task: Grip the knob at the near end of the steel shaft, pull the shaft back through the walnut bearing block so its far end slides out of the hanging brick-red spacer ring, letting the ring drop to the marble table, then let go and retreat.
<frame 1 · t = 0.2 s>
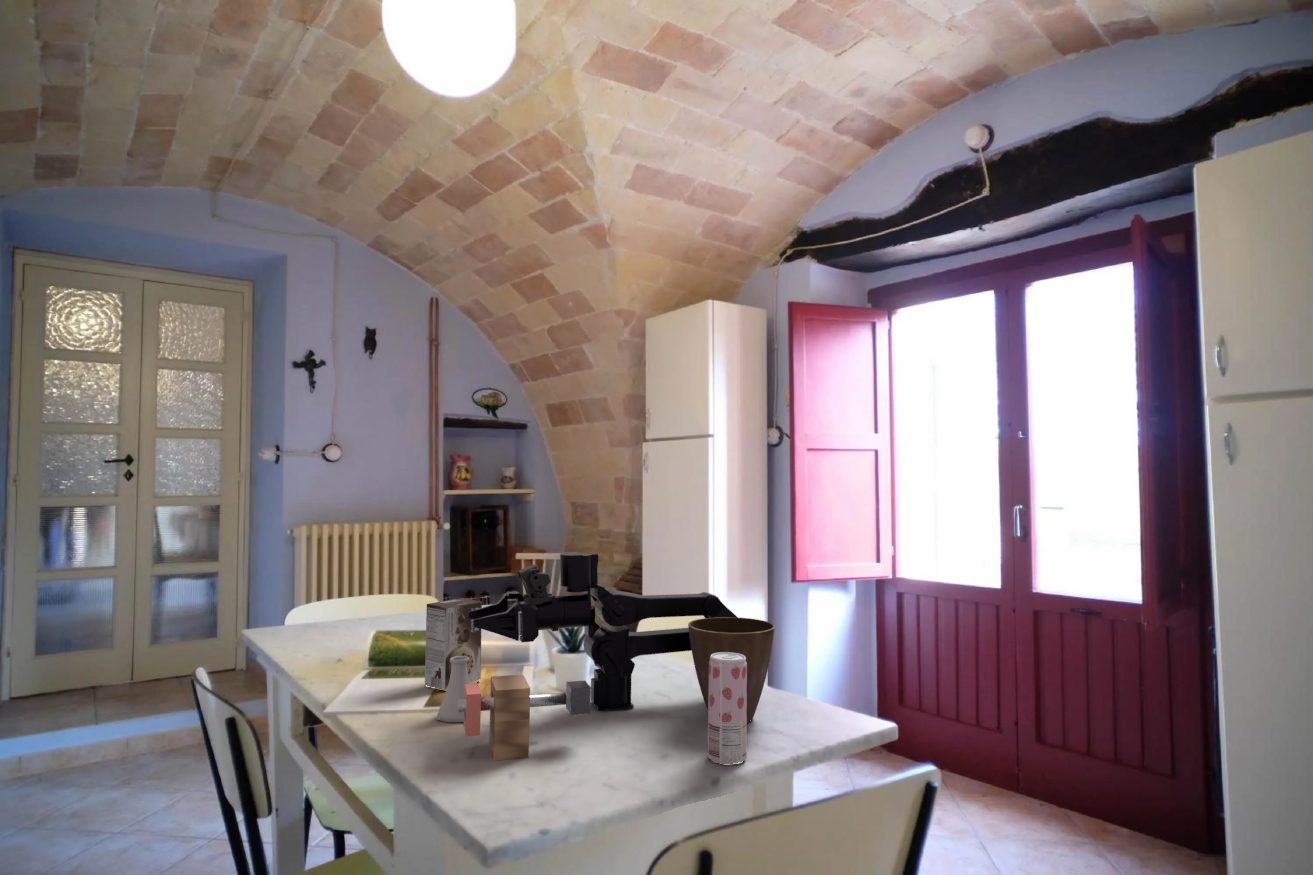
hand: (470, 618, 133), 17 cm above the table, tool horizontal, fingers open, 9 cm apart
flask: (457, 718, 132), on the table
plant pot: (730, 718, 134), on the table
spacer: (471, 729, 116), point 3 cm above the table, touching shaft
beverage can: (726, 760, 115), on the table
coffee box: (452, 685, 152), on the table
bearing block: (508, 749, 117), on the table
shaft: (524, 701, 118), point 7 cm above the table, slide at 0.0 cm, touching spacer
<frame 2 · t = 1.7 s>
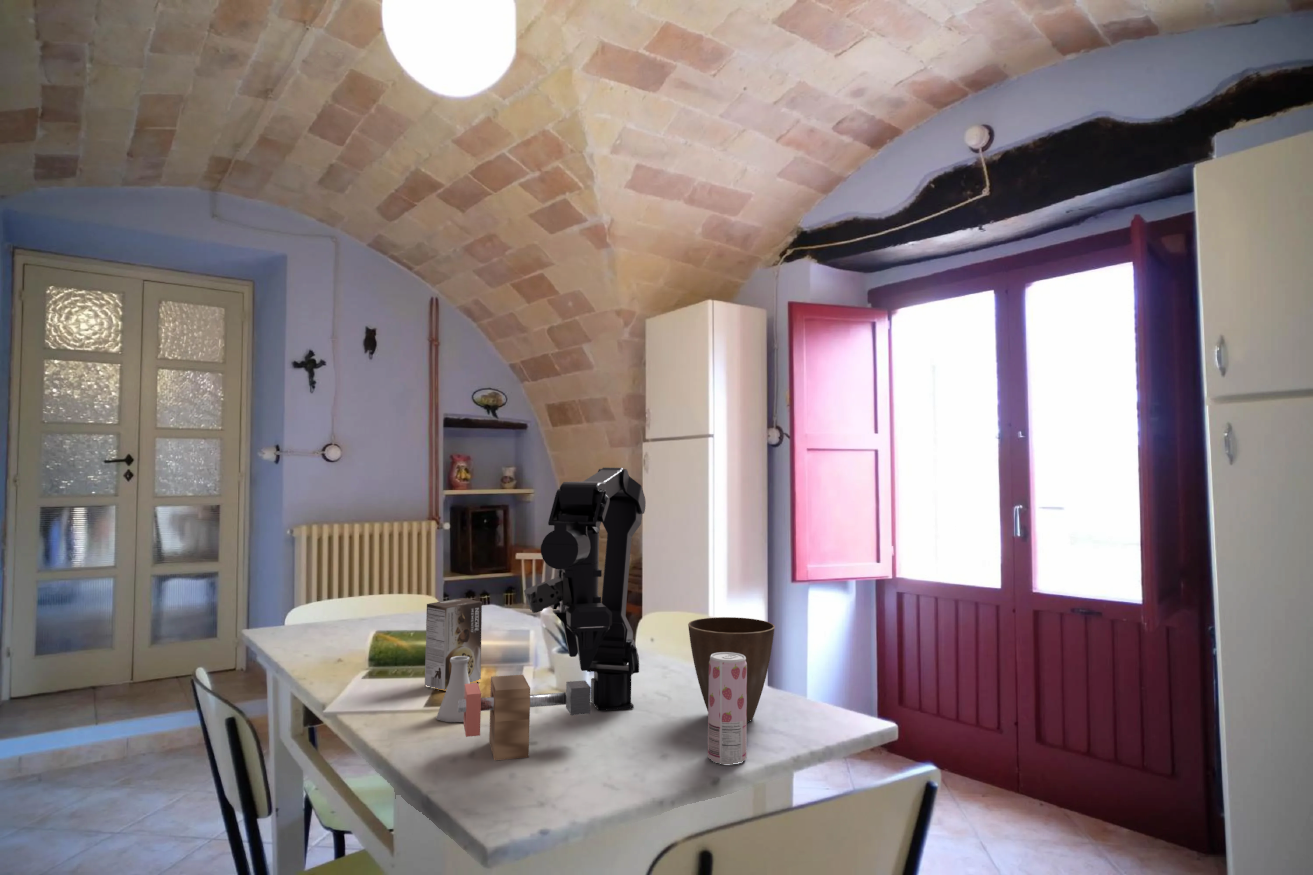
hand: (578, 663, 121), 12 cm above the table, tool pointing down, fingers open, 9 cm apart
nothing on the table moved.
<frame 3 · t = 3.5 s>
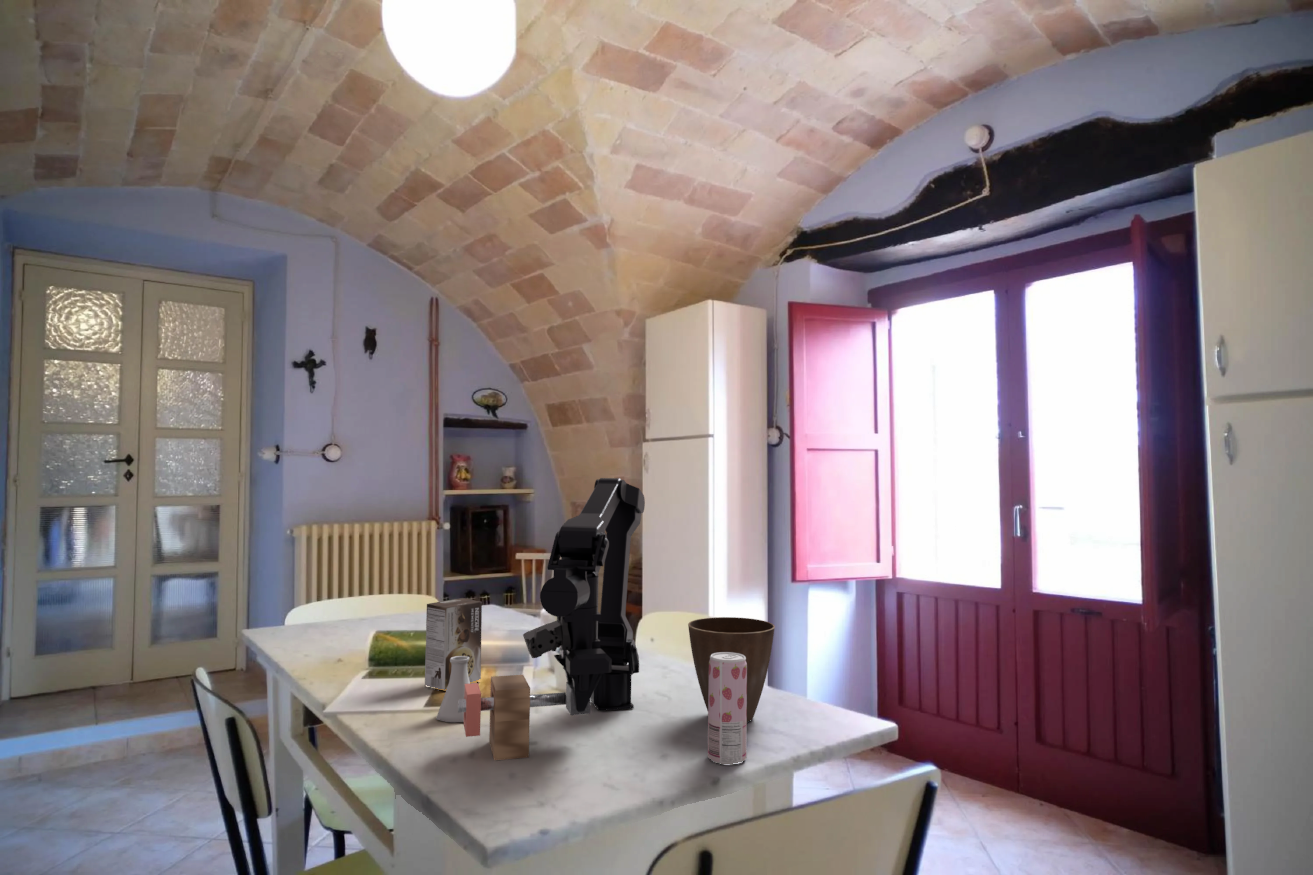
hand: (577, 707, 121), 6 cm above the table, tool pointing down, fingers closed on shaft, 4 cm apart
shaft: (524, 701, 118), point 7 cm above the table, slide at 0.0 cm, touching gripper, spacer
everything else where it was.
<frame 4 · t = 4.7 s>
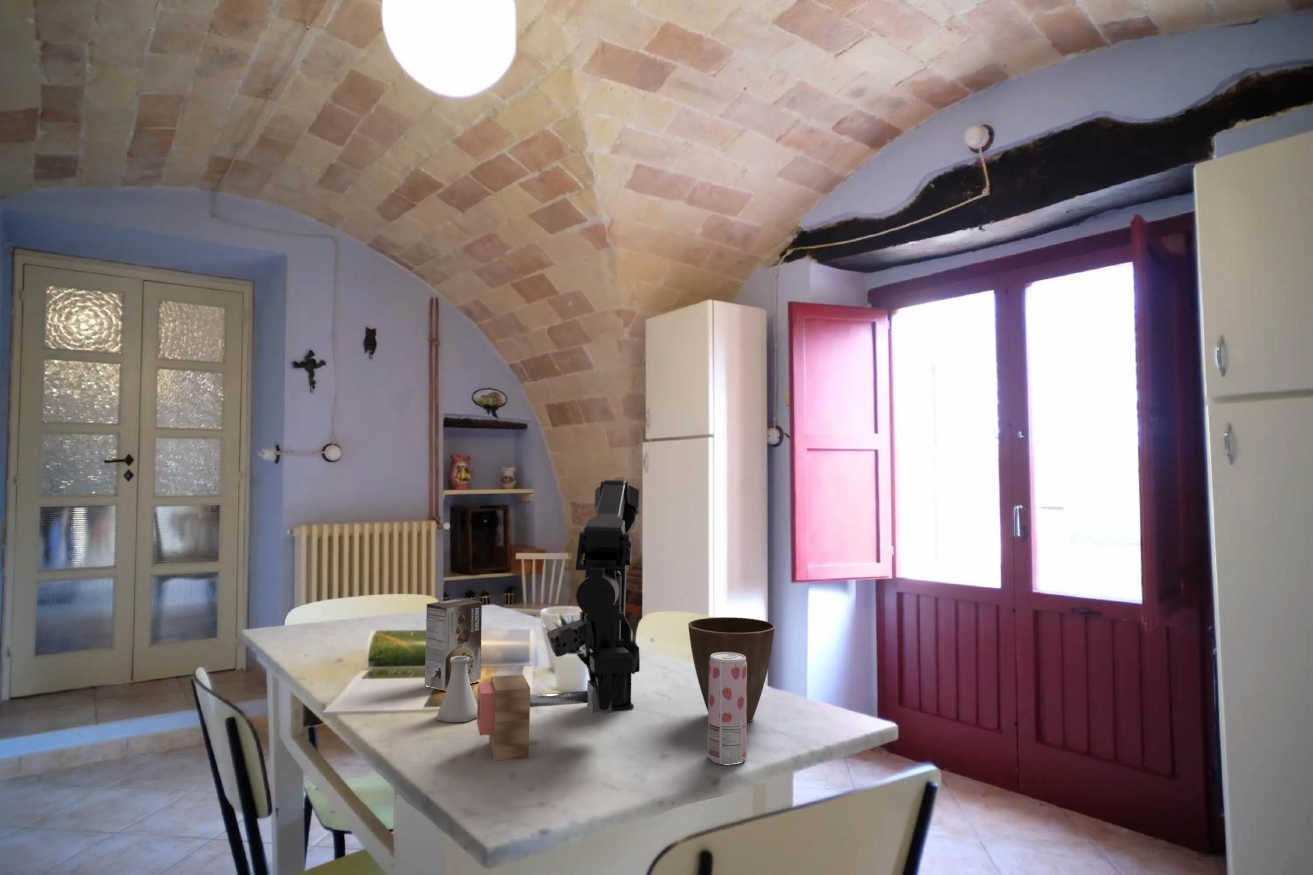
hand: (600, 705, 122), 5 cm above the table, tool pointing down, fingers closed on shaft, 4 cm apart
spacer: (485, 728, 116), point 3 cm above the table, touching bearing block, shaft
shaft: (546, 699, 119), point 7 cm above the table, slide at 3.4 cm, touching gripper, spacer
everything else where it was.
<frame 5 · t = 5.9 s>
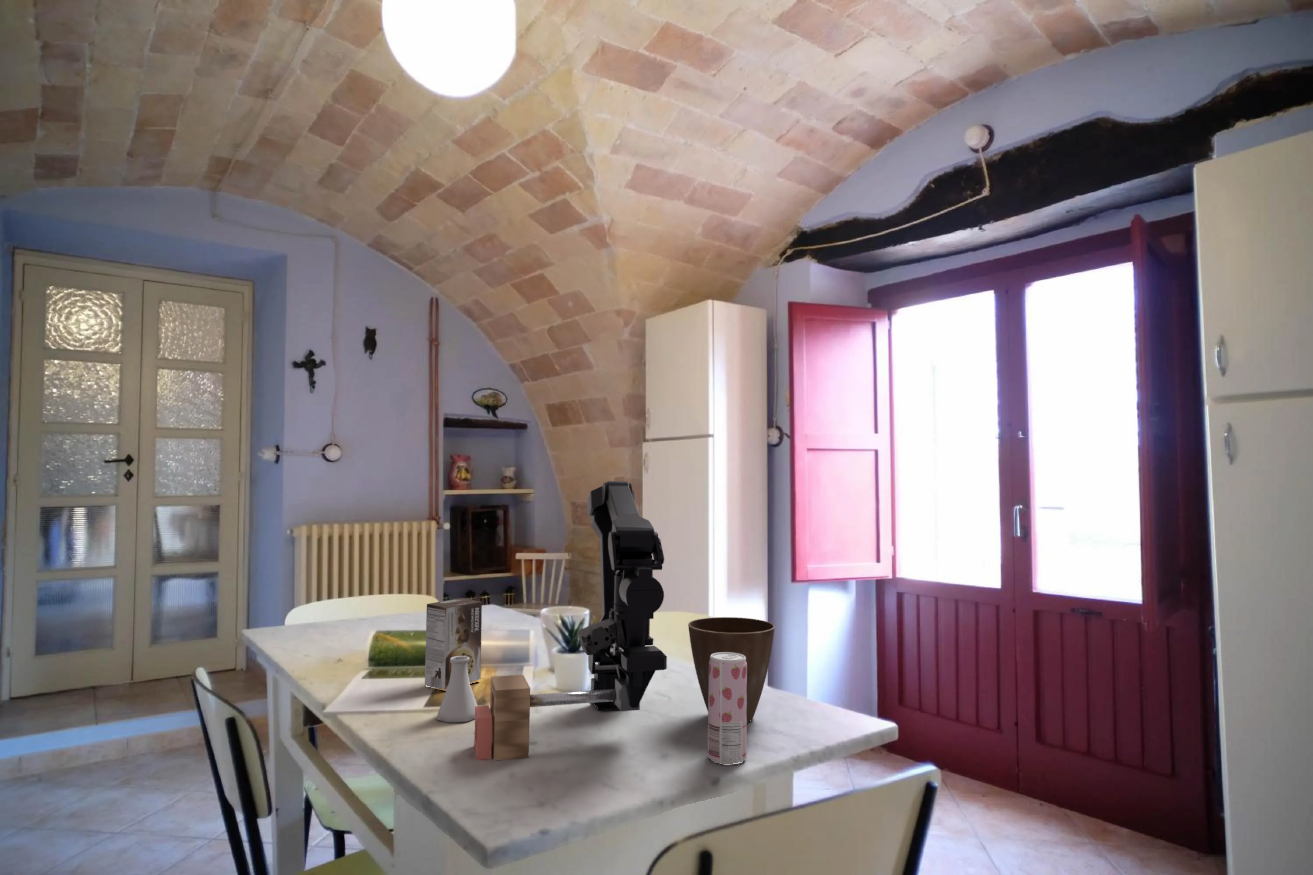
hand: (630, 703, 123), 5 cm above the table, tool pointing down, fingers closed on shaft, 4 cm apart
spacer: (482, 752, 116), on the table
shaft: (575, 697, 120), point 7 cm above the table, slide at 7.9 cm, touching gripper
everything else where it was.
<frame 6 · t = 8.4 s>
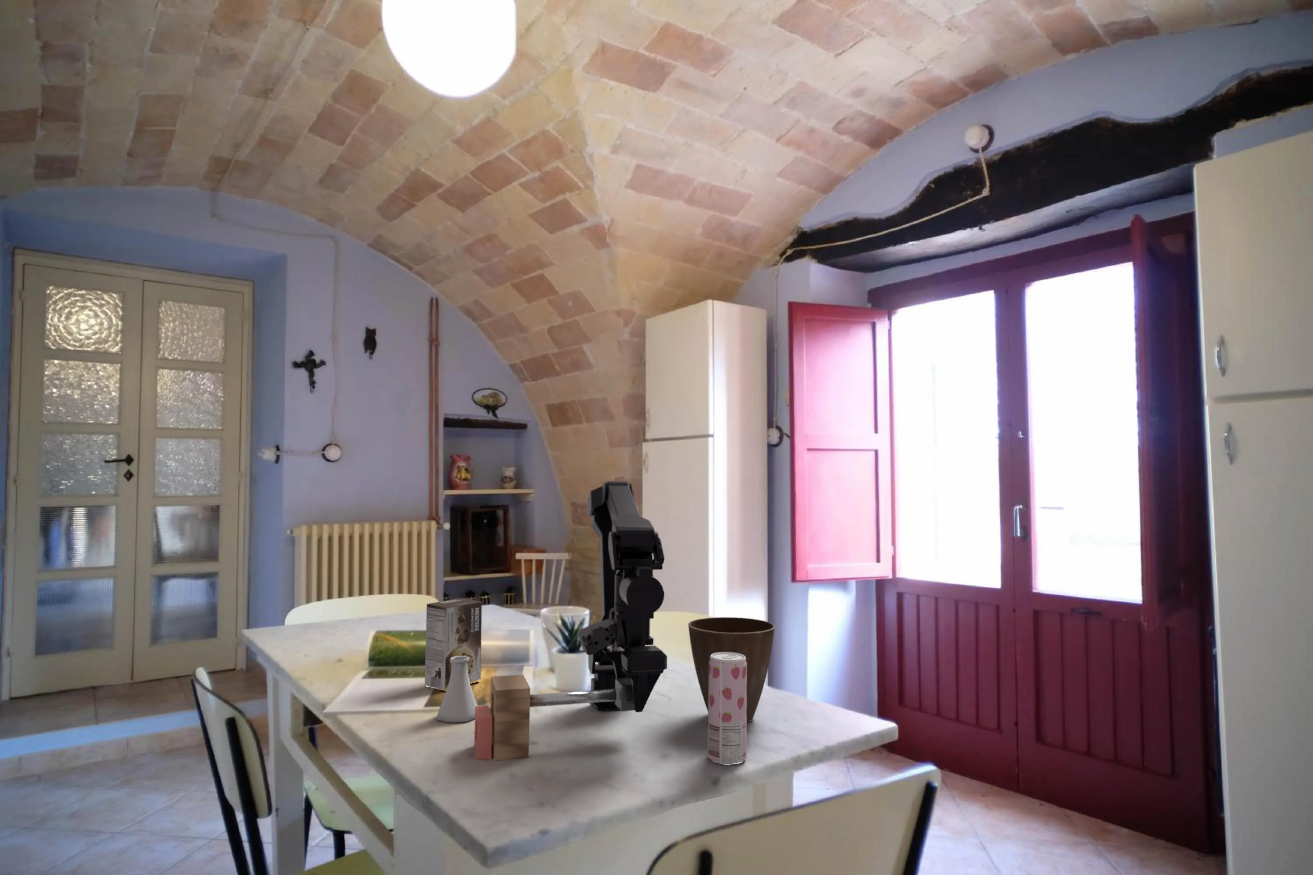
hand: (630, 703, 123), 6 cm above the table, tool pointing down, fingers open, 9 cm apart
shaft: (576, 697, 120), point 7 cm above the table, slide at 7.9 cm
everything else where it was.
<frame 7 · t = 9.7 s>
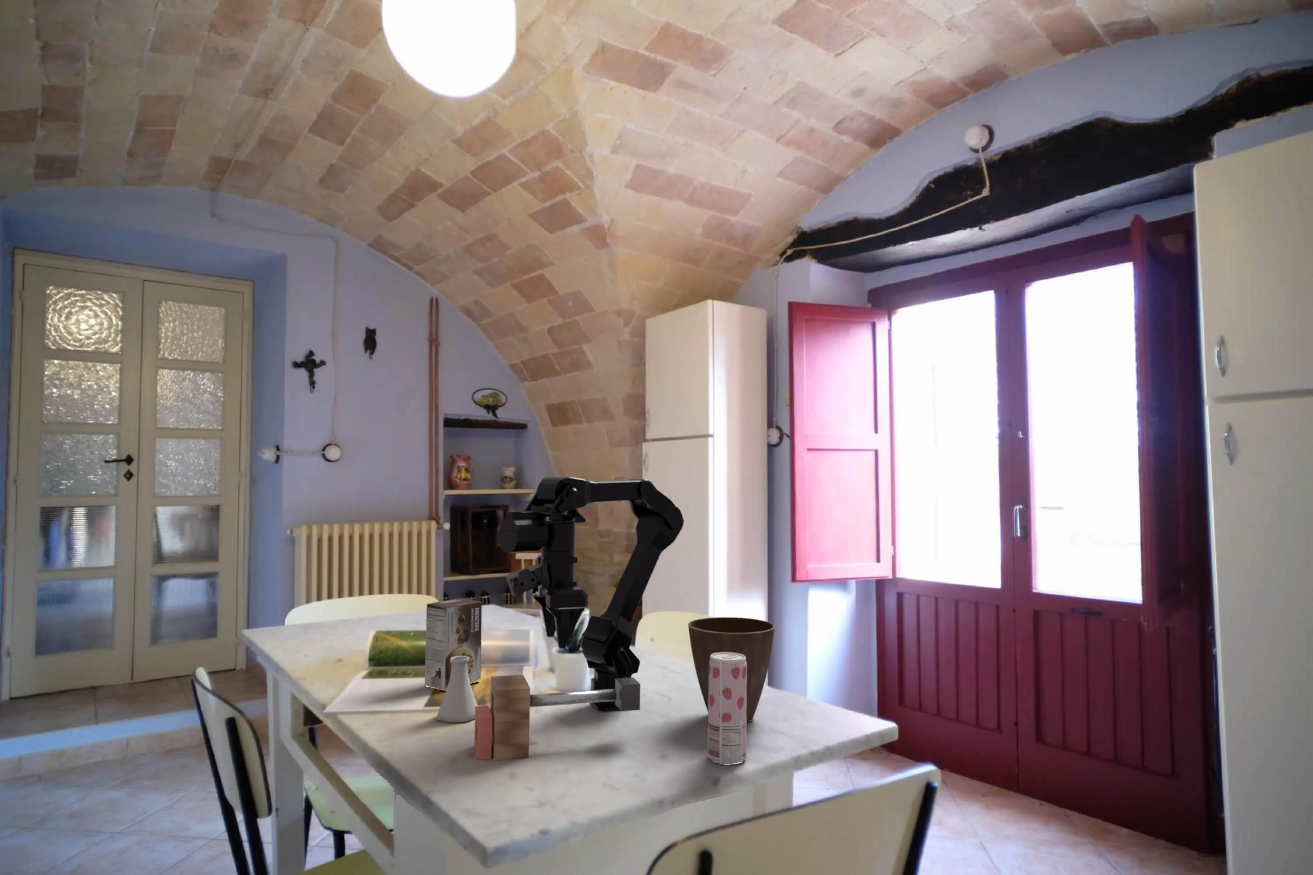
hand: (555, 642, 132), 13 cm above the table, tool pointing down, fingers open, 9 cm apart
nothing on the table moved.
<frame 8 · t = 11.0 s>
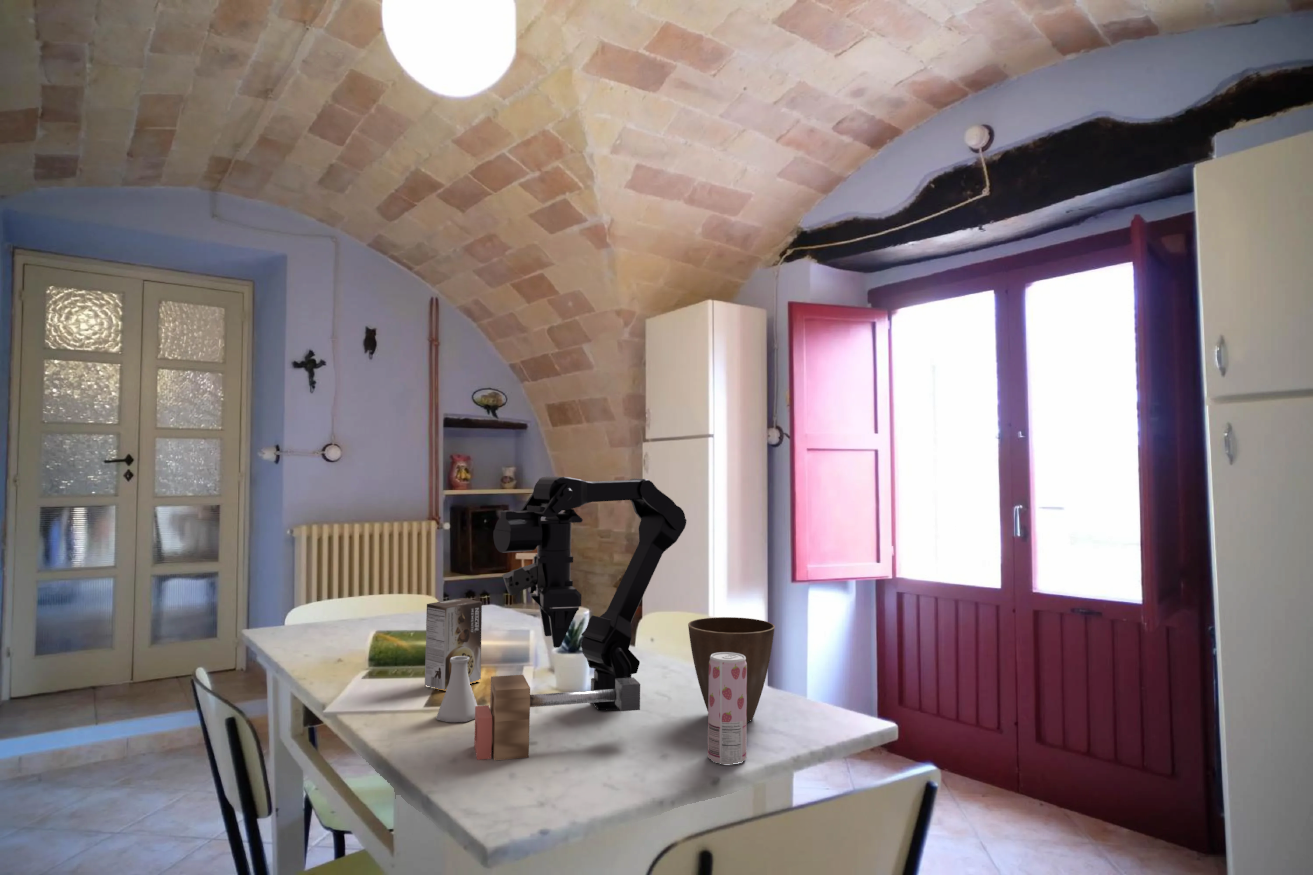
hand: (552, 641, 133), 13 cm above the table, tool pointing down, fingers open, 9 cm apart
nothing on the table moved.
at the end: spacer on the table; shaft slide at 7.9 cm; spacer touching table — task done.
